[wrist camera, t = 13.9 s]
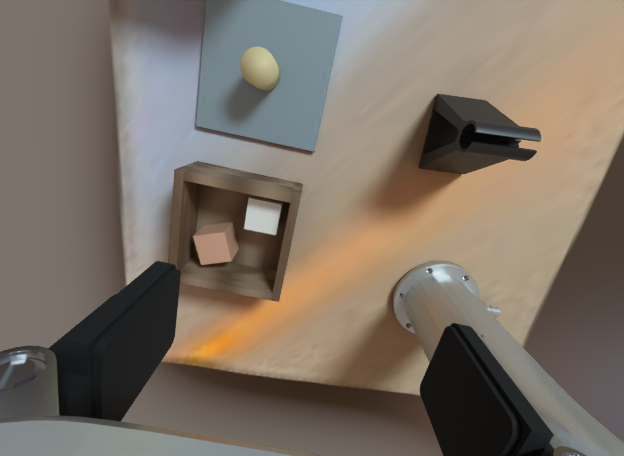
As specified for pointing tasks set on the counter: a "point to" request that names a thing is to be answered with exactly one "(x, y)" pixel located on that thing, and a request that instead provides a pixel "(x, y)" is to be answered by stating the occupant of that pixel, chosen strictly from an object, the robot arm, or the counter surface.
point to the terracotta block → (216, 243)
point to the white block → (263, 214)
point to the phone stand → (472, 136)
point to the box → (232, 208)
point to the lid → (266, 70)
